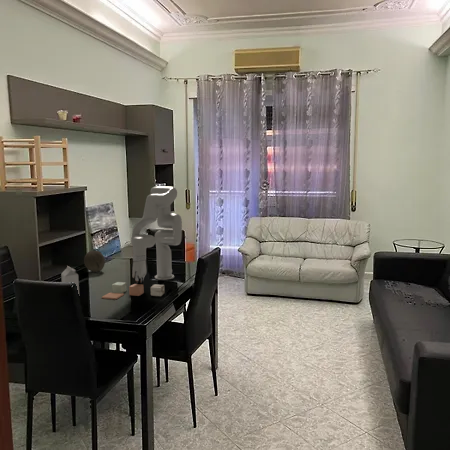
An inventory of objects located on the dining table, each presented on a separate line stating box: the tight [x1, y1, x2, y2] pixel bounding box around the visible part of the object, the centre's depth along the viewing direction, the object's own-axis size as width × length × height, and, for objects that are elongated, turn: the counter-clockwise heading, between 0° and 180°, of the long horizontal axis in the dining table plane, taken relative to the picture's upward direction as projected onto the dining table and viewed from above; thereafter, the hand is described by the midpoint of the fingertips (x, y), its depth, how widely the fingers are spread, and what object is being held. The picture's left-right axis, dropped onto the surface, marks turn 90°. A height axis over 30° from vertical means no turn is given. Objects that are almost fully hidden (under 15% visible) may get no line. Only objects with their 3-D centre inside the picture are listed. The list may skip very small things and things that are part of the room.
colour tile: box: [101, 292, 125, 300], centre depth 257 cm, size 9×9×1 cm
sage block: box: [111, 281, 127, 293], centre depth 266 cm, size 6×6×5 cm
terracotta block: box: [128, 283, 145, 297], centre depth 261 cm, size 6×6×5 cm
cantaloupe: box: [83, 250, 106, 273], centre depth 313 cm, size 14×14×15 cm
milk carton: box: [60, 265, 80, 295], centre depth 248 cm, size 7×7×19 cm
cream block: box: [150, 284, 165, 297], centre depth 260 cm, size 6×6×5 cm
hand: (140, 288), depth 266 cm, fingers closed
